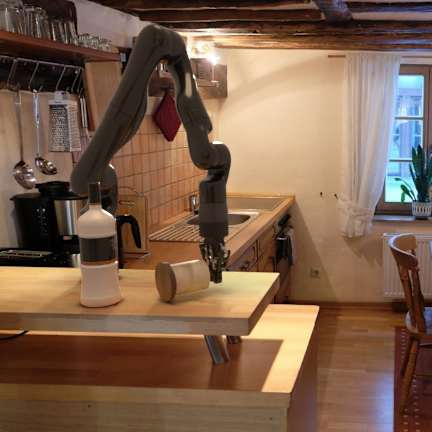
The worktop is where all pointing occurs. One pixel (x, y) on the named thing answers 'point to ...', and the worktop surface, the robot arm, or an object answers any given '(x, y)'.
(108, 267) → the vodka
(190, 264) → the towel holder
